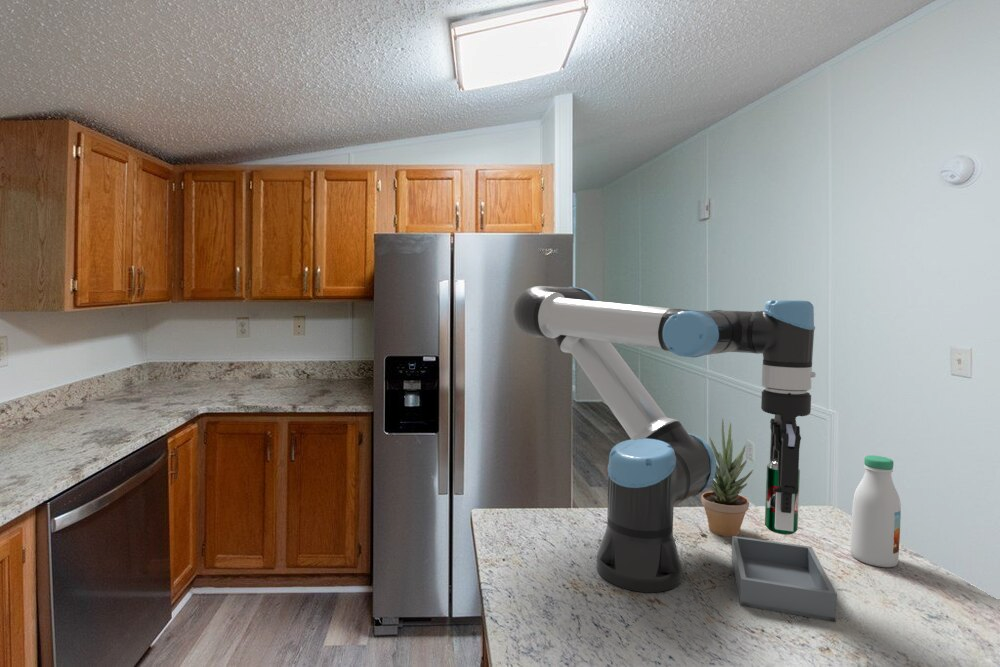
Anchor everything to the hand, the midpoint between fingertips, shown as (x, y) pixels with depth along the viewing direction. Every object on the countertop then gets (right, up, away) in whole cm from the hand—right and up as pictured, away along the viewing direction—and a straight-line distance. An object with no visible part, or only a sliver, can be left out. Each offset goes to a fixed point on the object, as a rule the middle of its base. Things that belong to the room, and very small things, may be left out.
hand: (781, 522), depth 94 cm
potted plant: (0, -10, +24) cm, 26 cm away
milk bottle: (+24, -11, +12) cm, 29 cm away
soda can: (0, -1, 0) cm, 1 cm away
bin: (0, -11, +1) cm, 11 cm away
